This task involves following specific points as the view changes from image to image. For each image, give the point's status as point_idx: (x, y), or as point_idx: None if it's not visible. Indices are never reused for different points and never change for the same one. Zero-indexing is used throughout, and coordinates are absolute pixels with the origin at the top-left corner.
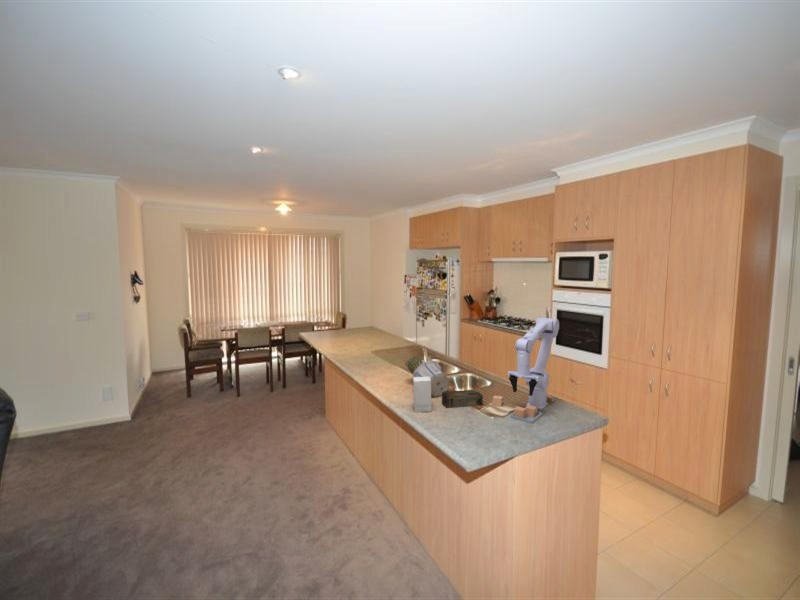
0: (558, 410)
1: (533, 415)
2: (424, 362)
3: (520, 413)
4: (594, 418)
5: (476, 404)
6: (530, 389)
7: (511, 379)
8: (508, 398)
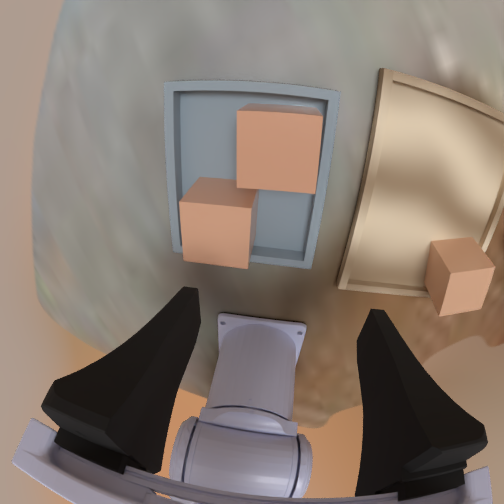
0: None
1: (196, 183)
2: None
3: (261, 108)
4: (54, 306)
5: None
6: (151, 335)
7: (454, 434)
8: None
